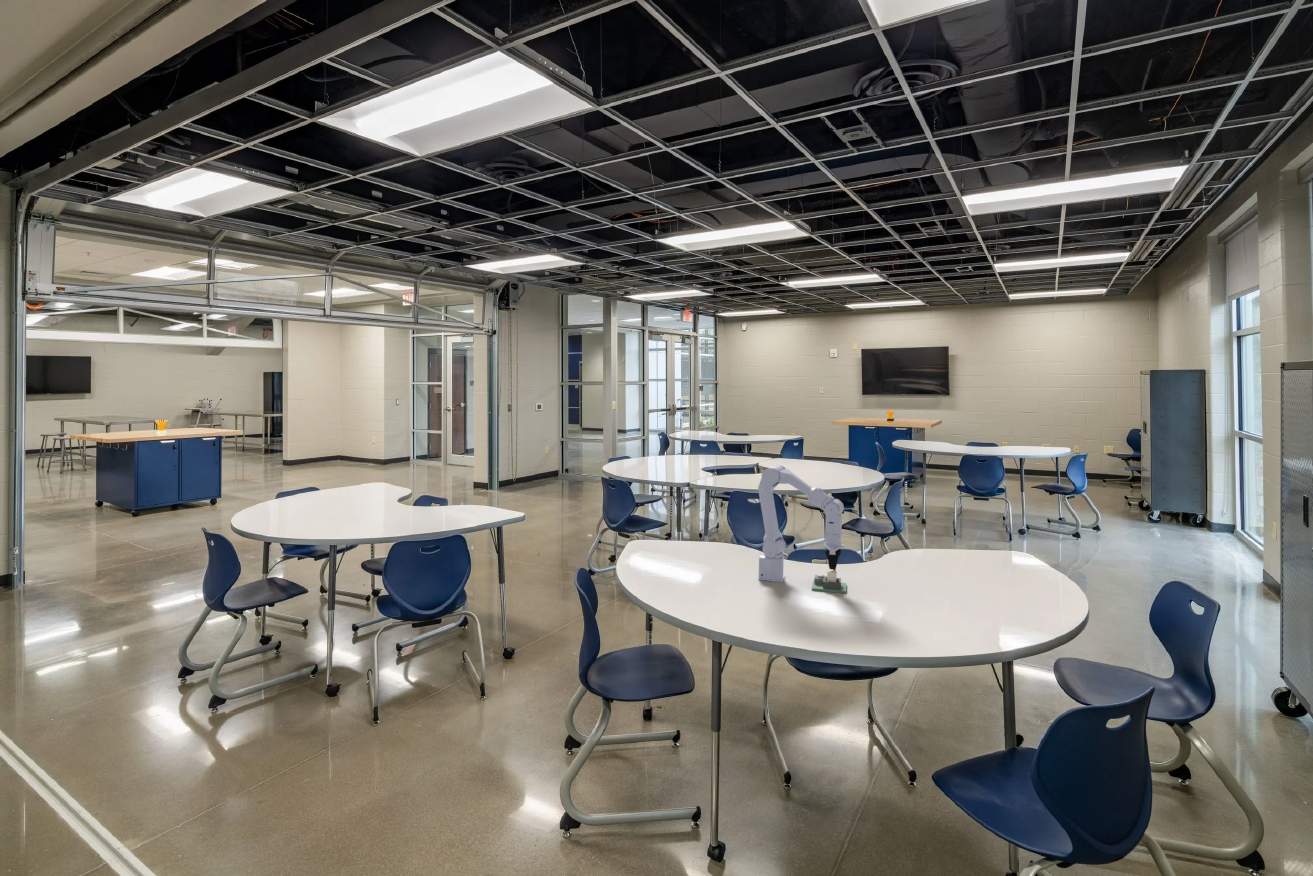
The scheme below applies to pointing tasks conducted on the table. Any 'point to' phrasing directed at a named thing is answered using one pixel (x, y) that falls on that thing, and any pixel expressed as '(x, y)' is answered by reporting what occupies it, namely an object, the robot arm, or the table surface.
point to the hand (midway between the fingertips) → (832, 569)
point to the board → (828, 585)
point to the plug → (831, 575)
